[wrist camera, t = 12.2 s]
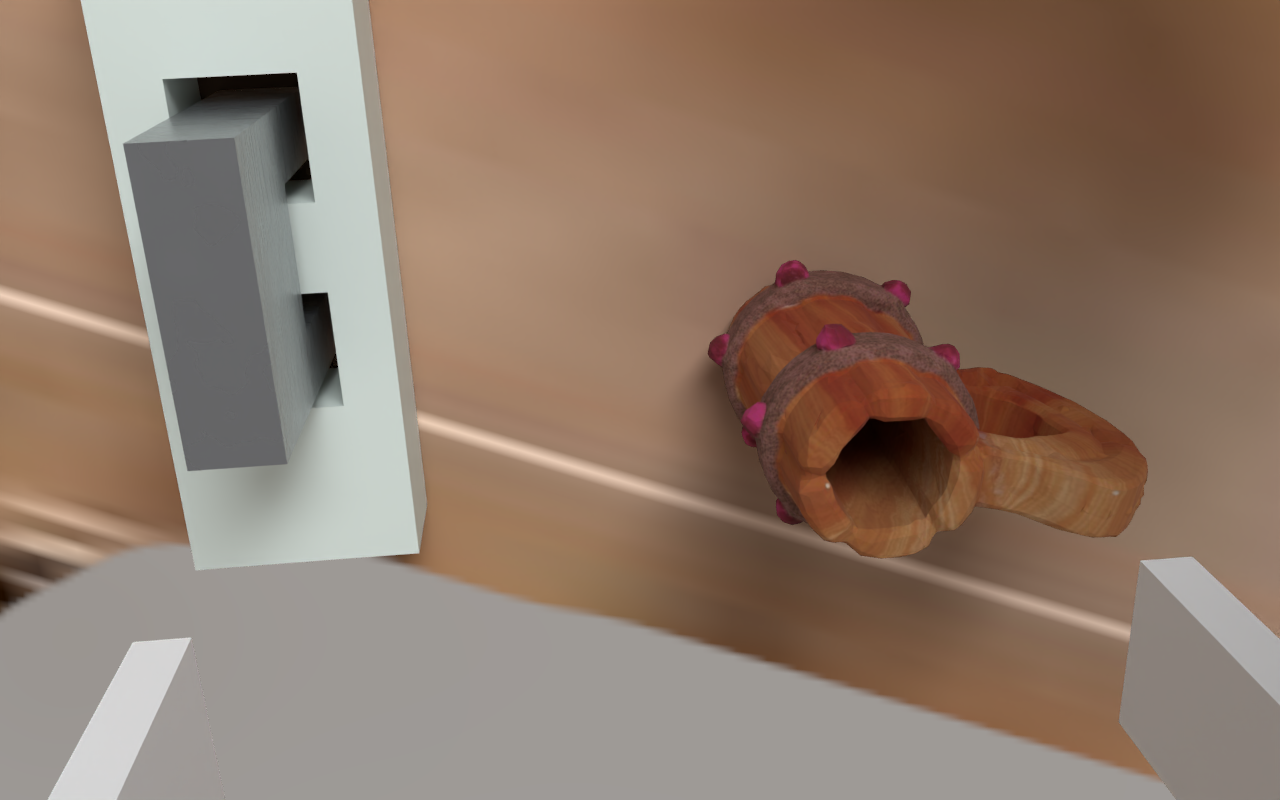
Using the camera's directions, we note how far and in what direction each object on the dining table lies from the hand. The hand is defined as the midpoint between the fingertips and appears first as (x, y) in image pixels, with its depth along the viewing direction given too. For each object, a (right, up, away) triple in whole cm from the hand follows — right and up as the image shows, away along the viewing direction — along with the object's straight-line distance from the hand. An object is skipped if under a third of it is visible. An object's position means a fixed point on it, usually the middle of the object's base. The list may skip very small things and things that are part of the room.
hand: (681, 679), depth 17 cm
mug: (+9, +6, +36) cm, 38 cm away
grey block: (-15, +11, +32) cm, 37 cm away
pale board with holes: (-15, +11, +32) cm, 37 cm away
